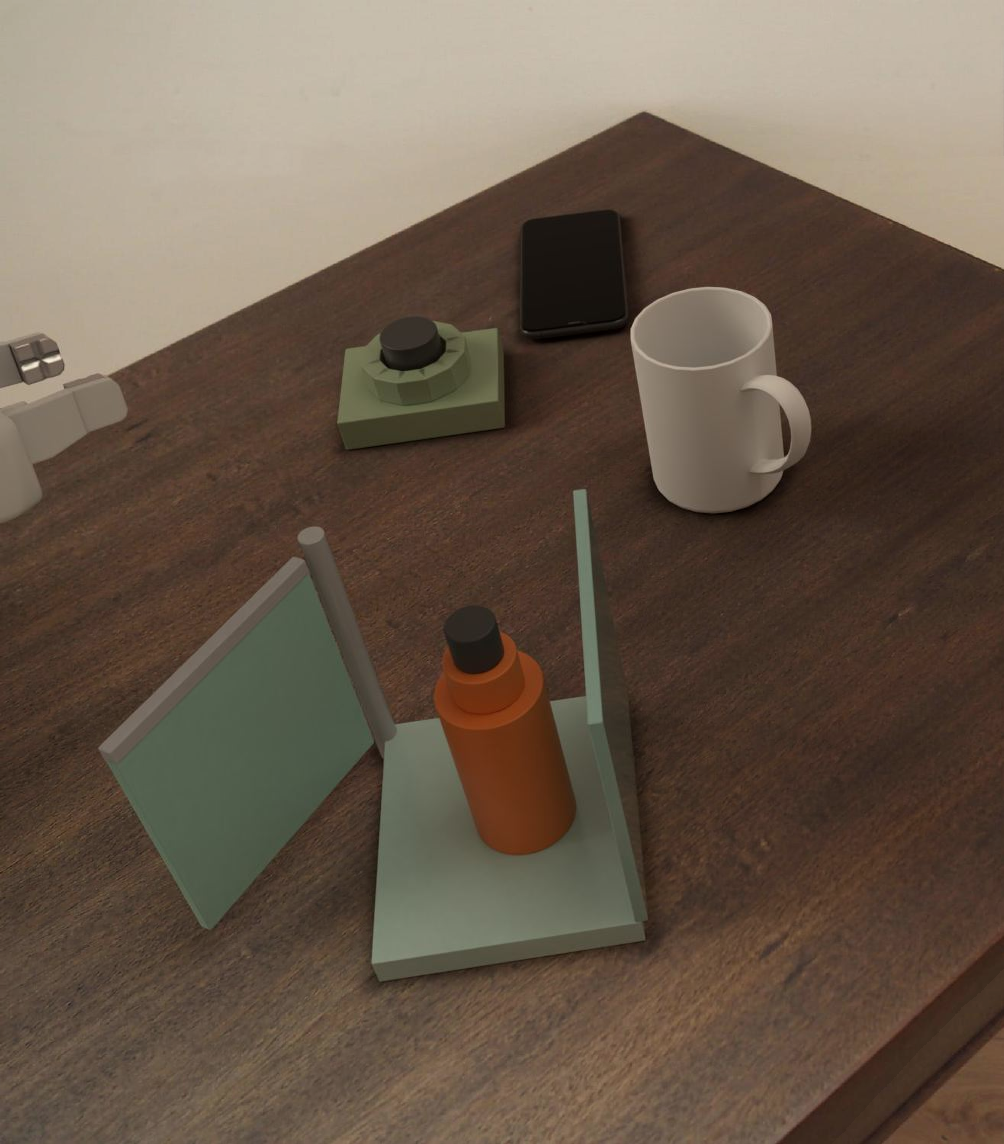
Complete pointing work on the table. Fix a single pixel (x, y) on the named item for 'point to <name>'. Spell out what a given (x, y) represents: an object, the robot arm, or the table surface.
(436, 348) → the button
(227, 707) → the shower door
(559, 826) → the shampoo bottle
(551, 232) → the smartphone
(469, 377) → the control block
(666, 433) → the mug
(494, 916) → the shower
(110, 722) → the table surface
